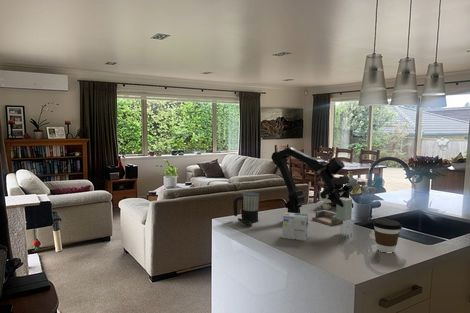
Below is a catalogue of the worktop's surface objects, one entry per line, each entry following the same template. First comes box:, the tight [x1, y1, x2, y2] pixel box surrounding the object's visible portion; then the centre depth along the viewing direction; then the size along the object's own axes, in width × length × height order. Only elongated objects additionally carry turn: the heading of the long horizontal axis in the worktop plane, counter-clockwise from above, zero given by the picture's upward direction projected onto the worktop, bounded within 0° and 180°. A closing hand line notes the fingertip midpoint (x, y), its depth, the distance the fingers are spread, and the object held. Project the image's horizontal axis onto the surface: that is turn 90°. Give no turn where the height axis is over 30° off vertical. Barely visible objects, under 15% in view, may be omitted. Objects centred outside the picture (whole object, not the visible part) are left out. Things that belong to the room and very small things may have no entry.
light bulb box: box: [281, 211, 309, 242], centre depth 151 cm, size 11×7×11 cm, turn 71°
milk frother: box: [232, 191, 260, 227], centre depth 174 cm, size 14×16×15 cm
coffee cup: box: [372, 218, 403, 253], centre depth 136 cm, size 11×11×12 cm
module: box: [335, 197, 353, 222], centre depth 160 cm, size 5×5×10 cm
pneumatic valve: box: [316, 189, 333, 211], centre depth 207 cm, size 6×12×12 cm, turn 51°
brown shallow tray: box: [311, 209, 344, 226], centre depth 179 cm, size 10×12×4 cm
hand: (346, 206), depth 159 cm, fingers closed on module, 5 cm apart
